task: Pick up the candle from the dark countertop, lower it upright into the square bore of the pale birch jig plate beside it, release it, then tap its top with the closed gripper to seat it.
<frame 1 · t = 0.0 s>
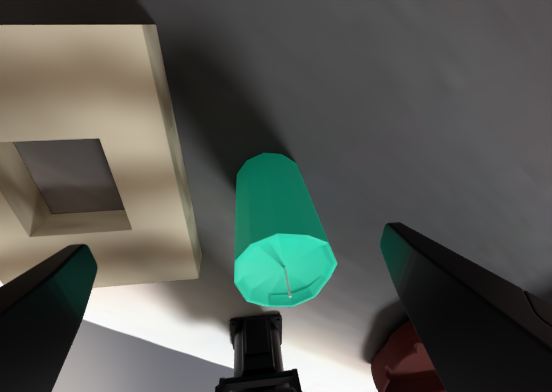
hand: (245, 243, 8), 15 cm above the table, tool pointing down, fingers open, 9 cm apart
candle: (269, 182, 24), on the table
jig: (81, 172, 22), on the table
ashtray: (411, 340, 43), on the table
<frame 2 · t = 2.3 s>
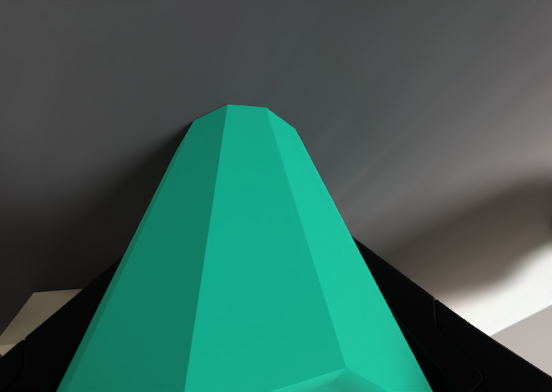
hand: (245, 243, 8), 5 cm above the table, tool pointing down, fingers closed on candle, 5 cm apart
candle: (243, 167, 13), on the table, touching gripper
jig: (228, 351, 20), on the table
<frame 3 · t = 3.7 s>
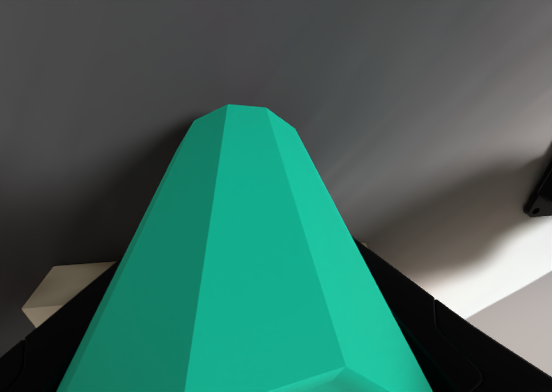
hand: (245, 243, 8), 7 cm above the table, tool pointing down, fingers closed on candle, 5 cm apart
candle: (243, 167, 13), point 2 cm above the table, touching gripper
jig: (228, 326, 22), on the table
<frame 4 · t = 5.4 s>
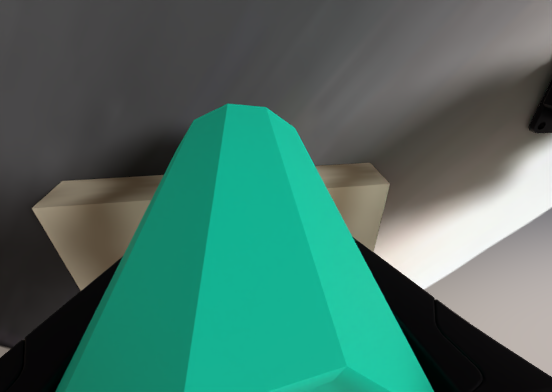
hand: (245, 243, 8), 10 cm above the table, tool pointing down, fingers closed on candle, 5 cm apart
candle: (243, 167, 13), point 5 cm above the table, touching gripper
jig: (234, 259, 22), on the table
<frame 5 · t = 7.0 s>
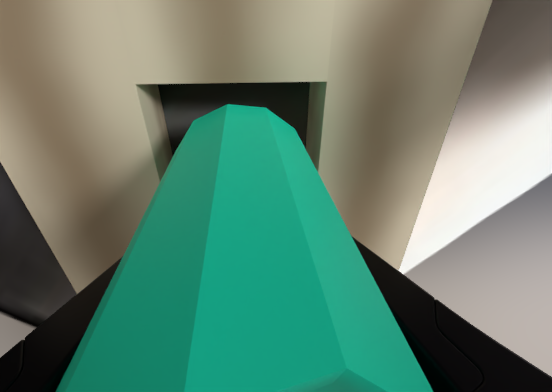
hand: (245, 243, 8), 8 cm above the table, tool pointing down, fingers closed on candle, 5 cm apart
candle: (242, 167, 13), point 3 cm above the table, touching gripper
jig: (240, 144, 15), on the table
when the fingers open (6 cm above the table, at t = 8.6 s): candle stays where it is, resting in jig.
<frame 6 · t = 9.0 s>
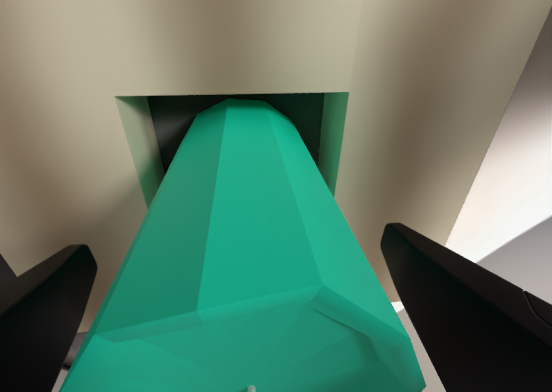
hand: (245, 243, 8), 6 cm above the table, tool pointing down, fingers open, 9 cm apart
candle: (243, 158, 14), resting in jig
jig: (242, 161, 13), on the table
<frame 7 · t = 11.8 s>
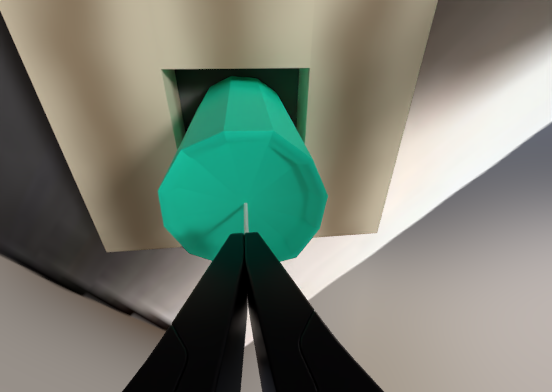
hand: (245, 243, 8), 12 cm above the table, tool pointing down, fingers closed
candle: (242, 121, 19), resting in jig
jig: (241, 123, 19), on the table
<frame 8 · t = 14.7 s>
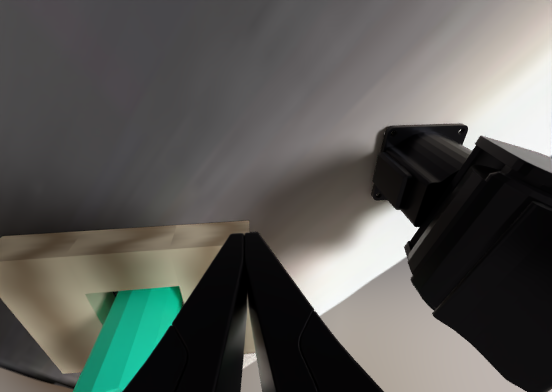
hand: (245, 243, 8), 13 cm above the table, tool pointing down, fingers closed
candle: (154, 288, 28), resting in jig
jig: (152, 290, 27), on the table
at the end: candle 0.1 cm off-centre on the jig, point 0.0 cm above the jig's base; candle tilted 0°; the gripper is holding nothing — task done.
